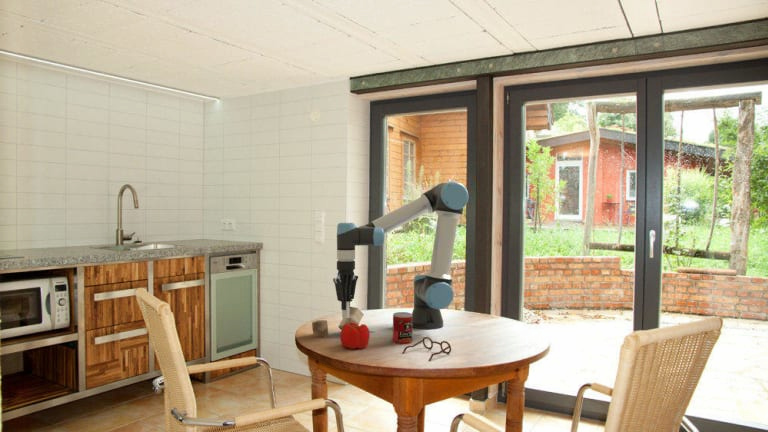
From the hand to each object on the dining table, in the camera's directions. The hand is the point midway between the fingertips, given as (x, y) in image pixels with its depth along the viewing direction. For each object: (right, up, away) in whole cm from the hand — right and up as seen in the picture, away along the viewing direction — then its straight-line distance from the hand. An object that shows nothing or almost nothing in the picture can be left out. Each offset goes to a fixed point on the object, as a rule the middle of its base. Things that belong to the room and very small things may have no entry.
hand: (345, 317), depth 212 cm
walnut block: (-10, -7, -1) cm, 13 cm away
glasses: (+31, -9, -25) cm, 41 cm away
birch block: (0, -6, 0) cm, 6 cm away
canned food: (+23, -8, -8) cm, 26 cm away
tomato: (+5, -8, -17) cm, 20 cm away
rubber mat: (+2, -8, +3) cm, 8 cm away
